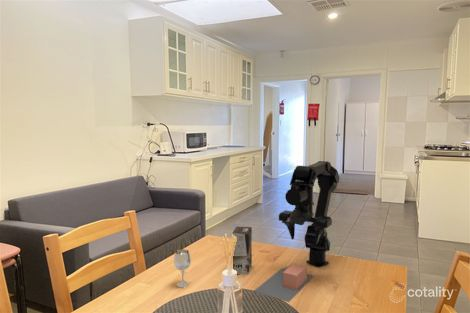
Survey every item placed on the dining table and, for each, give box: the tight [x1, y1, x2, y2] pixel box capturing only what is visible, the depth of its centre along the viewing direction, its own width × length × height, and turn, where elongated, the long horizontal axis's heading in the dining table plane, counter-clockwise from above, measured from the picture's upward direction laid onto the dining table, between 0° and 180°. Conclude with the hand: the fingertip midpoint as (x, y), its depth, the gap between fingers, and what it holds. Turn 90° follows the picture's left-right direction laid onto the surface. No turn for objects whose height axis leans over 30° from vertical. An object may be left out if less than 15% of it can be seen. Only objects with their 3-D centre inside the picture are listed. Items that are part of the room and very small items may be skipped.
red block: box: [283, 263, 308, 290], centre depth 120 cm, size 5×5×9 cm
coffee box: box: [231, 226, 253, 276], centre depth 131 cm, size 9×6×16 cm
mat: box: [253, 267, 315, 303], centre depth 120 cm, size 22×13×1 cm, turn 146°
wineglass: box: [173, 249, 192, 288], centre depth 120 cm, size 6×6×12 cm
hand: (304, 241), depth 126 cm, fingers open, 9 cm apart
